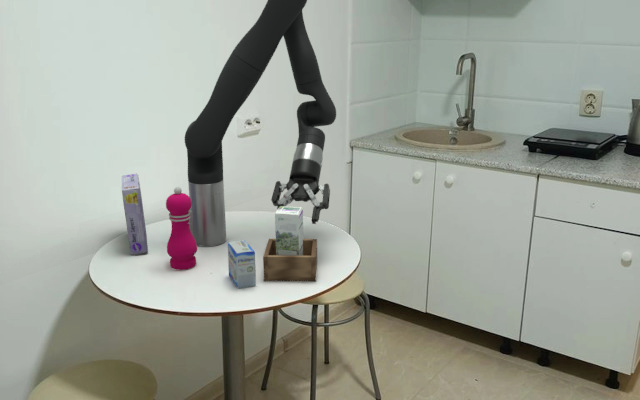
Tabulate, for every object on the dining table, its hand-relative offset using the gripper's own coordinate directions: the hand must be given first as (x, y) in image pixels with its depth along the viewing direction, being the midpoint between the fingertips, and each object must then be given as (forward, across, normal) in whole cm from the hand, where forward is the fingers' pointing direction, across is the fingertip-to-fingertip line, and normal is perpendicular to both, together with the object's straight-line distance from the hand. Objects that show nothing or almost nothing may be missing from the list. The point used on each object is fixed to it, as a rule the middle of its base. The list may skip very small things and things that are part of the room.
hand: (296, 221), depth 144 cm
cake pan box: (+5, -46, +10) cm, 47 cm away
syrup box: (+11, 0, +3) cm, 11 cm away
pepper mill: (+13, -27, +2) cm, 30 cm away
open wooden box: (+12, 0, +4) cm, 12 cm away
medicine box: (+17, -10, -2) cm, 20 cm away
